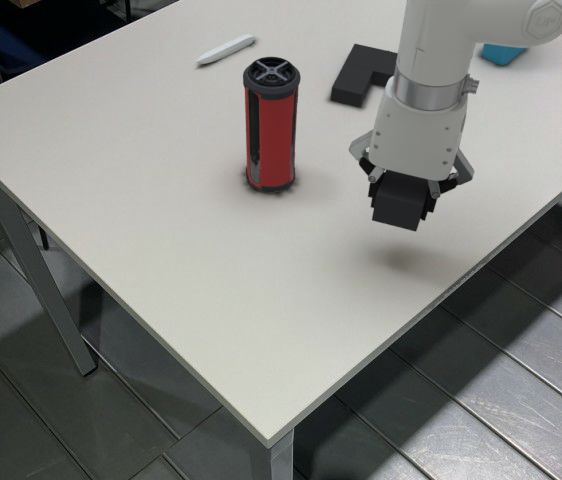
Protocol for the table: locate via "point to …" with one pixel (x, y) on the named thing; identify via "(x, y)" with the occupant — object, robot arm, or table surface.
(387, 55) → the base pad
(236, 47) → the pen
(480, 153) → the table surface
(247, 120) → the speaker
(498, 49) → the block
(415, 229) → the plug pad
